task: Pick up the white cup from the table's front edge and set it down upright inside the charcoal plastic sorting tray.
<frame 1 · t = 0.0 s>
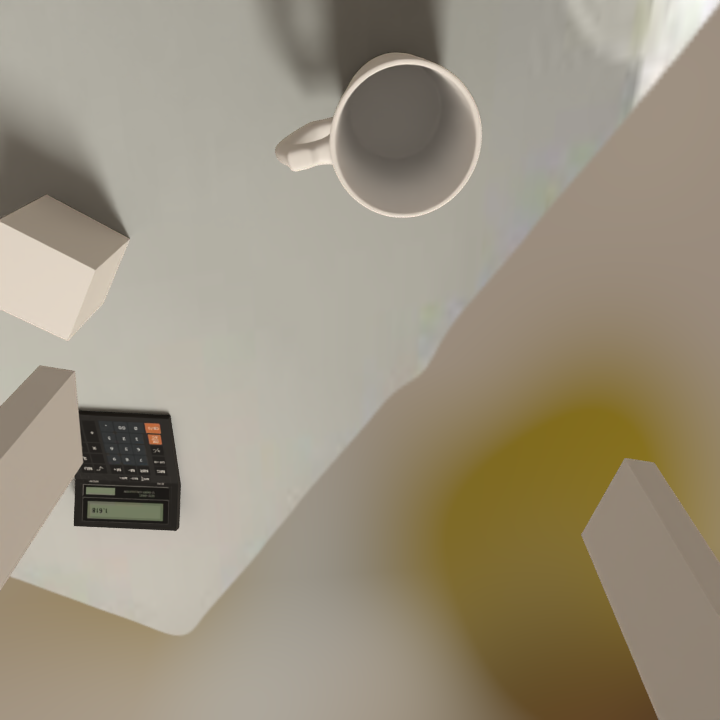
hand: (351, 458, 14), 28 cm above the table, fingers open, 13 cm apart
calculator: (128, 460, 51), on the table
mug: (368, 113, 36), on the table
white cube: (78, 250, 41), on the table
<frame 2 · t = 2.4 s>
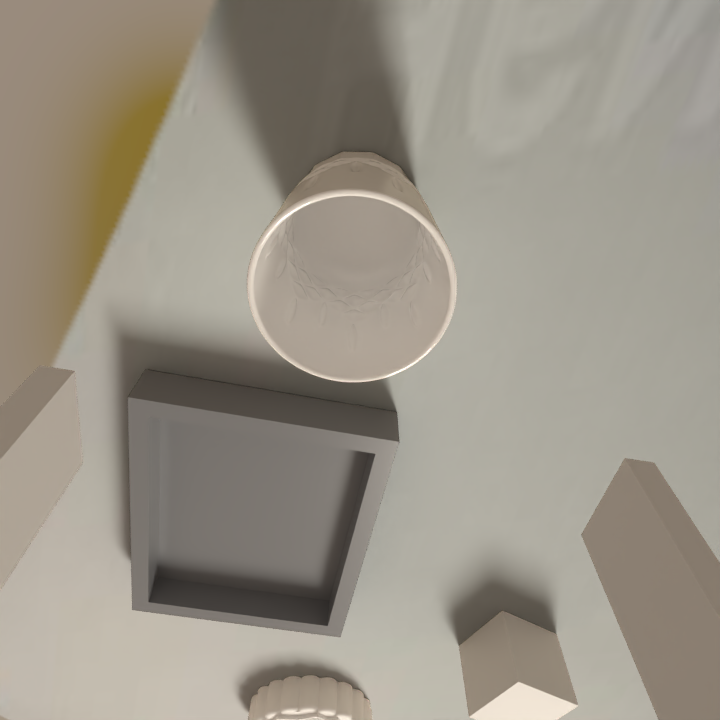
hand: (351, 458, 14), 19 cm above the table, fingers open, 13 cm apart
mooncake: (311, 704, 55), on the table
sorting tray: (257, 503, 40), on the table
white cup: (356, 215, 30), on the table
white cube: (506, 637, 49), on the table
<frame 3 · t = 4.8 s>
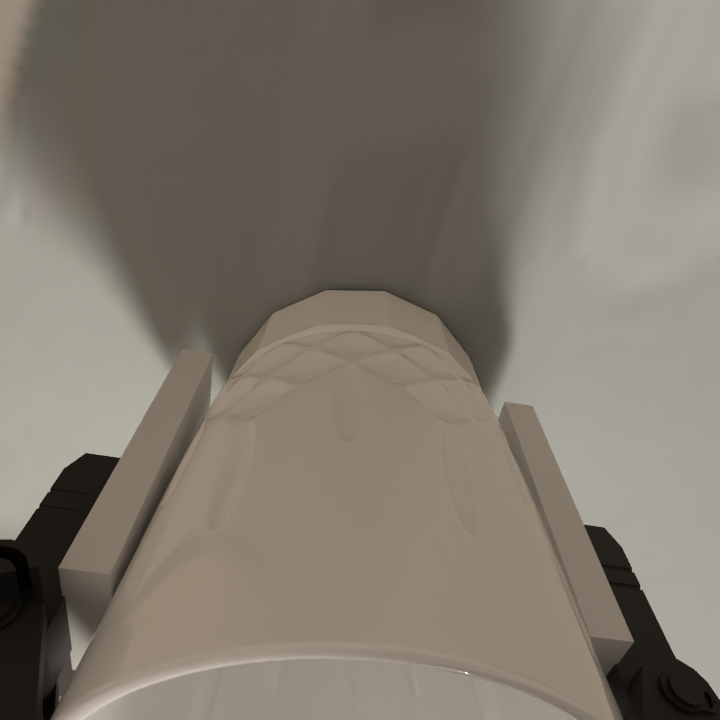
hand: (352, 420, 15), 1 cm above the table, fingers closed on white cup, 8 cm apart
white cup: (354, 390, 16), on the table, touching gripper
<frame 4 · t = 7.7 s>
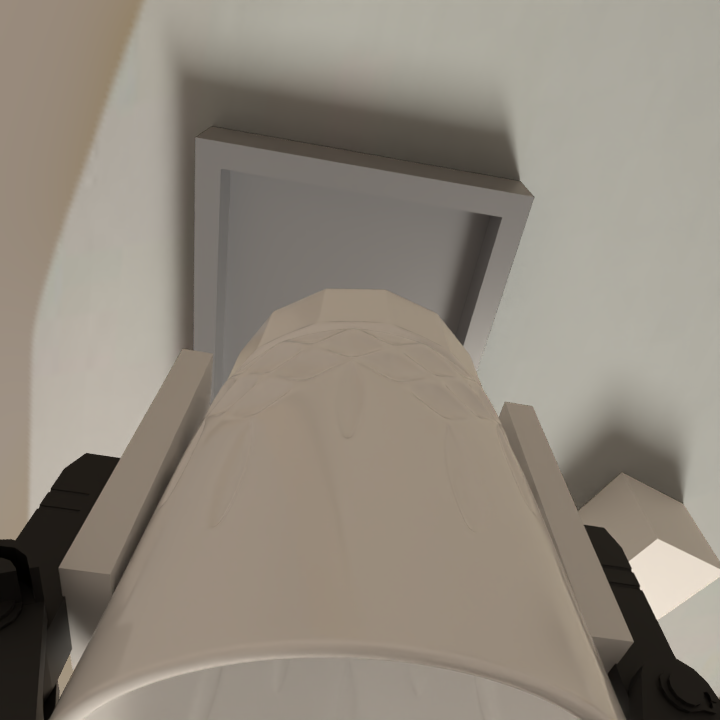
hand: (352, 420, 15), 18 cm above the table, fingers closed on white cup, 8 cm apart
sorting tray: (340, 324, 34), on the table
white cup: (354, 389, 16), point 17 cm above the table, touching gripper
white cube: (621, 510, 42), on the table
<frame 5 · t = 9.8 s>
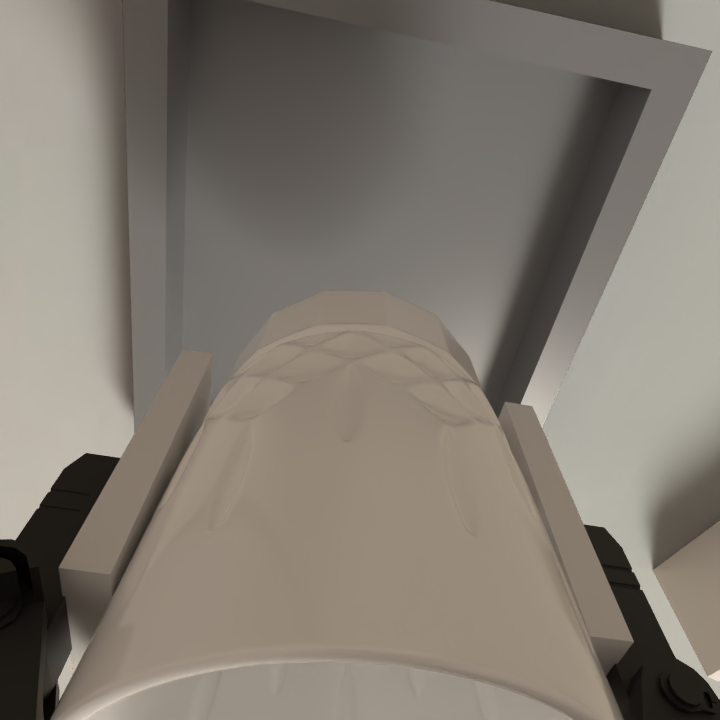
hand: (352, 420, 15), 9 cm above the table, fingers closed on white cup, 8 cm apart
sorting tray: (360, 285, 22), on the table
white cup: (354, 390, 16), point 7 cm above the table, touching gripper
when the fingers open (4 cm above the table, at t = 11.1 s): white cup drops 2 cm, resting on sorting tray.
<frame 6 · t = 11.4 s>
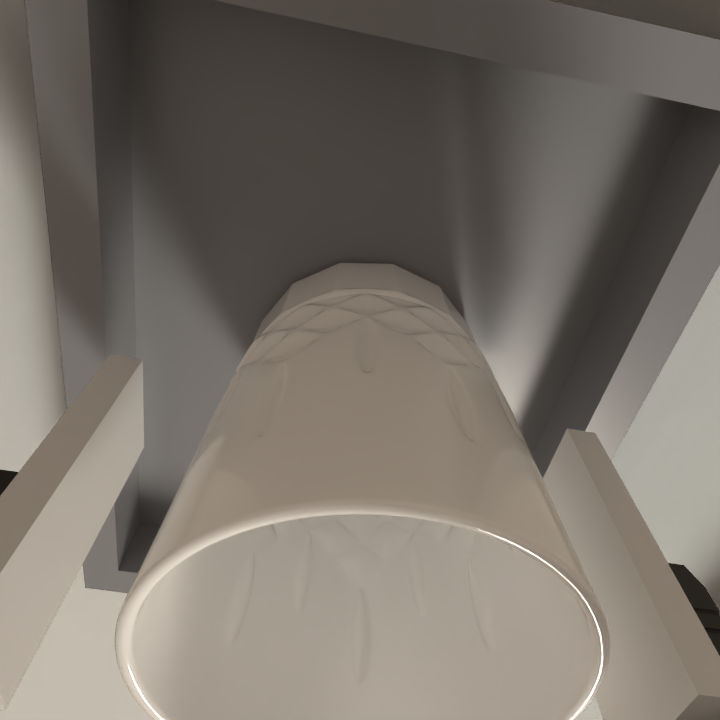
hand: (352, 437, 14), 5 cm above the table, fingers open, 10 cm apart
sorting tray: (355, 346, 18), on the table
white cup: (364, 356, 18), point 1 cm above the table, touching sorting tray
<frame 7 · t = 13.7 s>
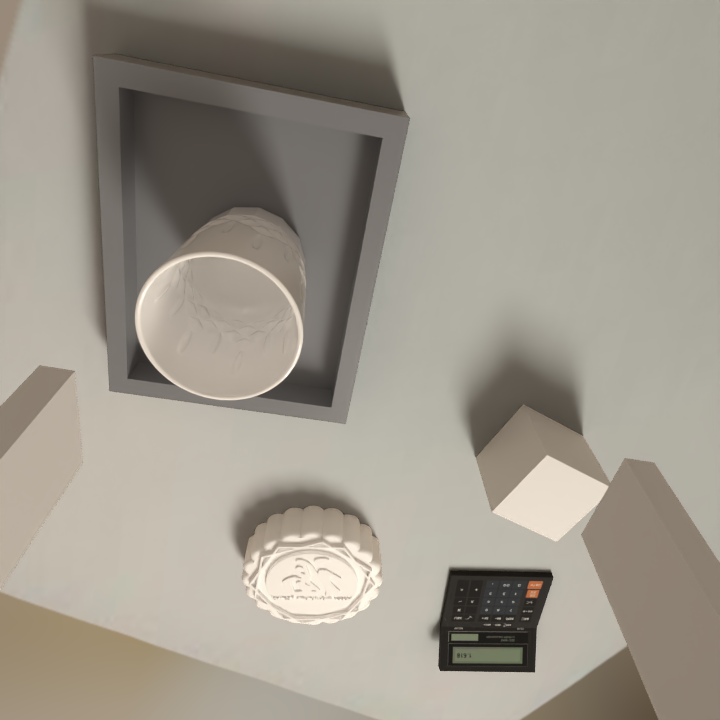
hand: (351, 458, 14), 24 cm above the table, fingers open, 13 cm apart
mooncake: (314, 550, 50), on the table
sorting tray: (249, 254, 36), on the table
calculator: (489, 607, 55), on the table
white cup: (252, 257, 35), point 1 cm above the table, touching sorting tray
white cube: (527, 444, 44), on the table
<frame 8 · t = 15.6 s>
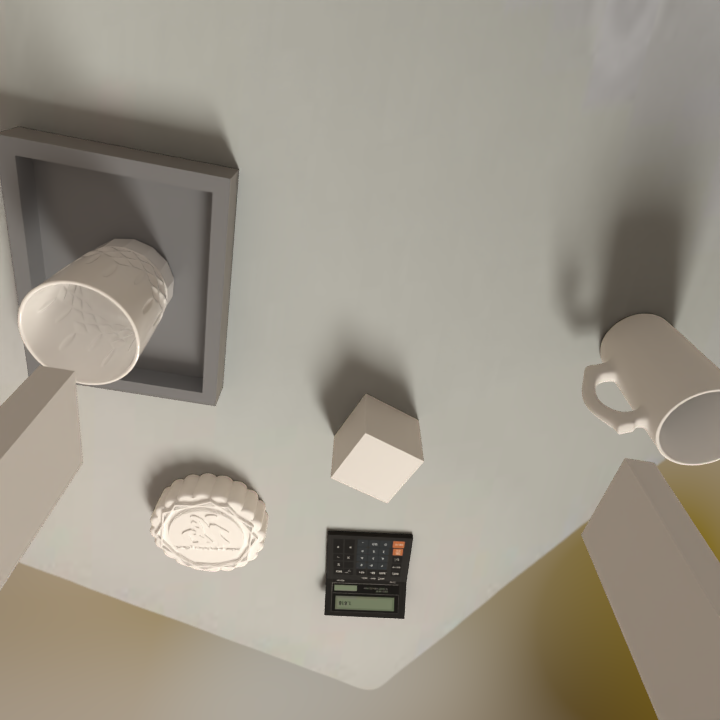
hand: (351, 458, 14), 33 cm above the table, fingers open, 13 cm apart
mooncake: (214, 511, 61), on the table
sorting tray: (133, 273, 46), on the table
calculator: (367, 563, 65), on the table
mug: (615, 346, 50), on the table
white cup: (134, 276, 46), point 1 cm above the table, touching sorting tray
white cube: (375, 426, 55), on the table
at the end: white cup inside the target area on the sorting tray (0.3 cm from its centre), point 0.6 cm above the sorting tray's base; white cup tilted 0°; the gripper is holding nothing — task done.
